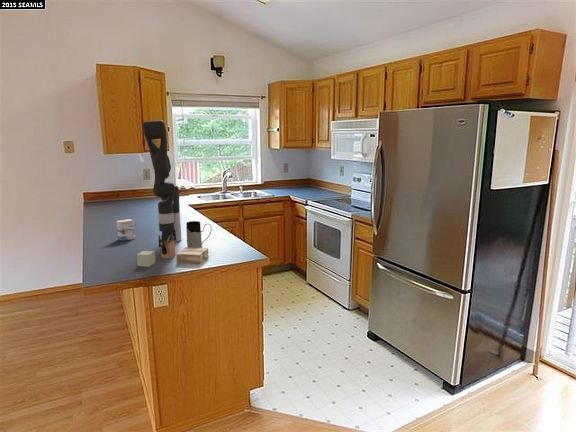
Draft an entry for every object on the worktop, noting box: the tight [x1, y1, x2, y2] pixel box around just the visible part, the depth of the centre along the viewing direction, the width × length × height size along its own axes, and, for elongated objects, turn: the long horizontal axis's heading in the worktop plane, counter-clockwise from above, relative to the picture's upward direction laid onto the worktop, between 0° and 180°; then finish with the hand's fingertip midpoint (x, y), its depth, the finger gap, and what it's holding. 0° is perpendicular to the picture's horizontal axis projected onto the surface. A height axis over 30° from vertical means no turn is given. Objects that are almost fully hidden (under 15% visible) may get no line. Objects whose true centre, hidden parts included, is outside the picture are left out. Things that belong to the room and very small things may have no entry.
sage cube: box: [136, 250, 156, 268], centre depth 185 cm, size 6×6×6 cm
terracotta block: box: [160, 241, 176, 259], centre depth 197 cm, size 5×5×8 cm
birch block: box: [175, 246, 209, 265], centre depth 192 cm, size 12×12×5 cm
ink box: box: [116, 218, 136, 242], centre depth 229 cm, size 9×5×12 cm, turn 135°
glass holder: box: [185, 220, 212, 248], centre depth 211 cm, size 9×14×15 cm, turn 111°
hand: (168, 251), depth 197 cm, fingers open, 8 cm apart
